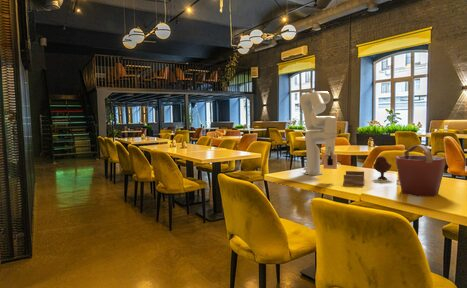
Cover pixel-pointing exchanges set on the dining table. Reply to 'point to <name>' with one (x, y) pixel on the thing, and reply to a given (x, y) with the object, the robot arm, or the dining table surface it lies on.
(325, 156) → the tile
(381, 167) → the ice cream bowl
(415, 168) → the bucket
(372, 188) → the dining table surface
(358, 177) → the rack
